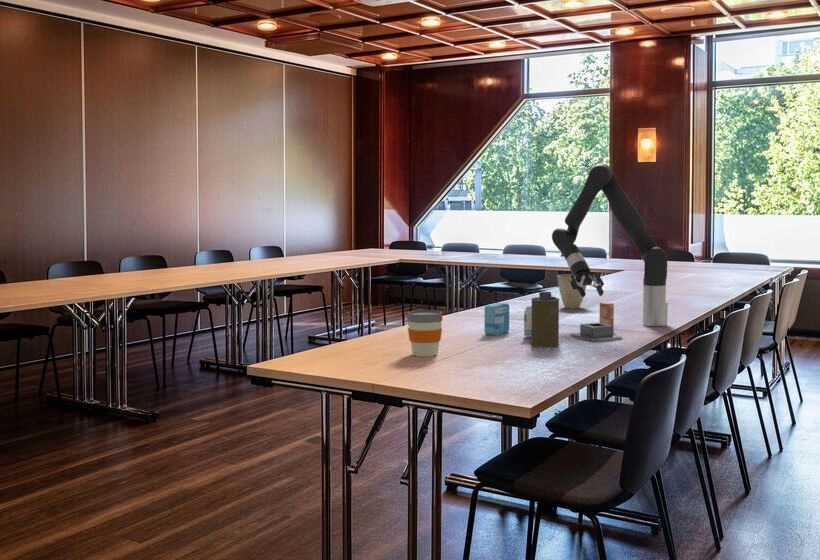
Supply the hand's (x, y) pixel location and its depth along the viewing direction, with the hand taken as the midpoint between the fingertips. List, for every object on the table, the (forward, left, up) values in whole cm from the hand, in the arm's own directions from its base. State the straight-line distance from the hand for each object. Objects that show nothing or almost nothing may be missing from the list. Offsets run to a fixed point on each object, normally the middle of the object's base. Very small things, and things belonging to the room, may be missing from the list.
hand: (593, 295), depth 347 cm
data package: (+41, -7, -14) cm, 44 cm away
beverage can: (+33, +8, -14) cm, 37 cm away
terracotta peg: (0, +10, -14) cm, 17 cm away
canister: (+37, +24, -14) cm, 46 cm away
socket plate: (+11, +19, -14) cm, 26 cm away
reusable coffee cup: (+85, +22, -14) cm, 89 cm away
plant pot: (-29, -60, -14) cm, 68 cm away
